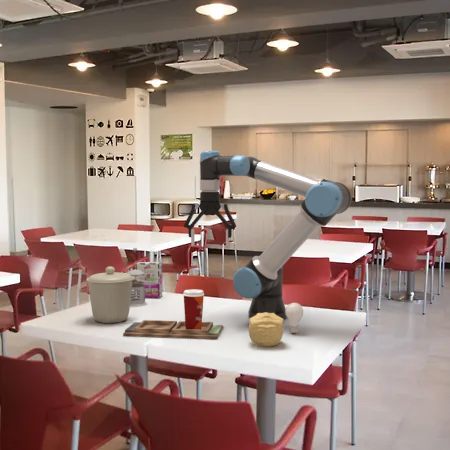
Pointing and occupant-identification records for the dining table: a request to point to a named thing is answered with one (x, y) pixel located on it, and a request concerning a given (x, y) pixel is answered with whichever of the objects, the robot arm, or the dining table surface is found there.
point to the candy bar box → (151, 278)
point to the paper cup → (193, 308)
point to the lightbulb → (294, 316)
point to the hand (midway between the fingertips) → (210, 246)
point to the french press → (137, 288)
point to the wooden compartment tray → (172, 330)
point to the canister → (110, 295)
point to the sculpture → (266, 329)
